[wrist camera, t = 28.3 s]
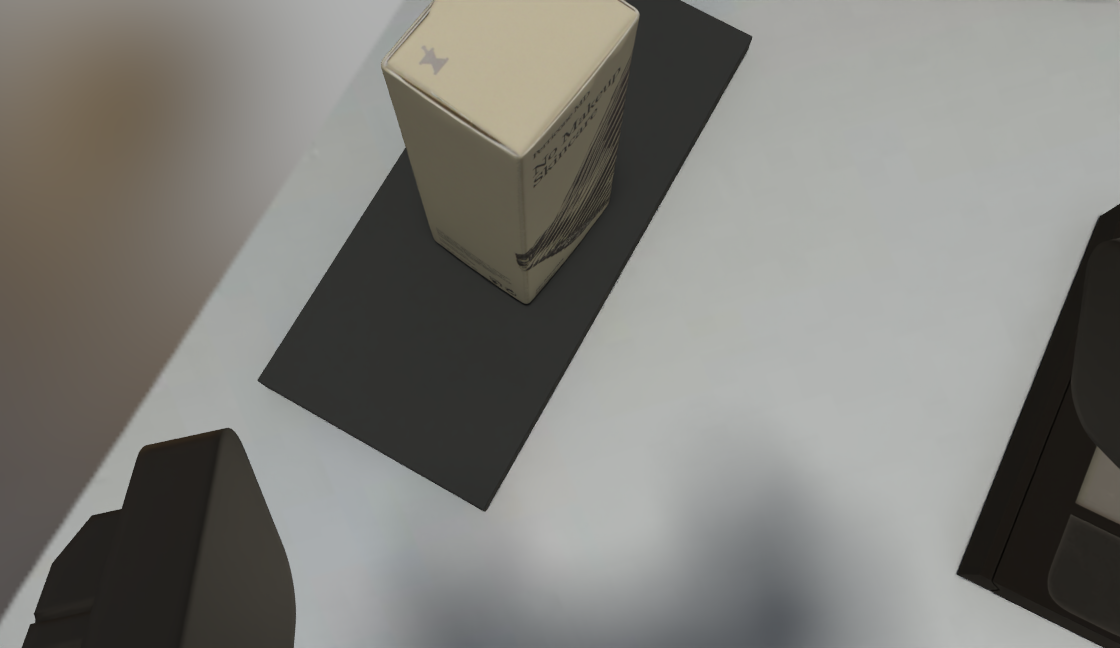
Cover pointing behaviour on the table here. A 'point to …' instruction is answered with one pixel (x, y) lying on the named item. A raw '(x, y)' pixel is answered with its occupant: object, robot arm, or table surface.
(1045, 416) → the vhs tape
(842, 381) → the table surface
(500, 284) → the box
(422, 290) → the scrub mat
